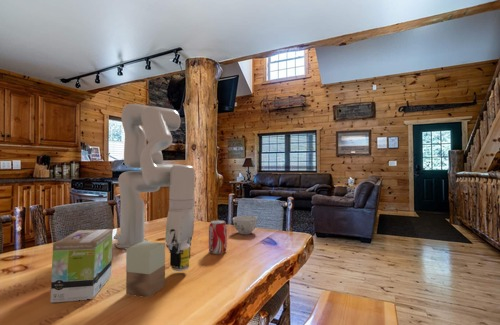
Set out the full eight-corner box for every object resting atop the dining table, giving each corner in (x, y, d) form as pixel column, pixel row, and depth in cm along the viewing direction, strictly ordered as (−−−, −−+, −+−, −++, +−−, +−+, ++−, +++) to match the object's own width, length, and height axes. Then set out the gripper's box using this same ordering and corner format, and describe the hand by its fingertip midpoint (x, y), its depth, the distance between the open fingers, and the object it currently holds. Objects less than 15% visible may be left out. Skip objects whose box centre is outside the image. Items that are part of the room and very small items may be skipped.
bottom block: (126, 294, 70) (126, 271, 70) (143, 283, 76) (143, 262, 76) (149, 298, 68) (149, 274, 68) (164, 286, 75) (165, 264, 75)
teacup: (229, 231, 138) (229, 216, 138) (251, 229, 143) (251, 214, 143) (239, 238, 124) (239, 221, 124) (263, 236, 129) (263, 219, 129)
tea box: (94, 300, 67) (95, 240, 67) (49, 304, 65) (50, 243, 65) (112, 276, 81) (112, 227, 82) (75, 278, 79) (76, 229, 80)
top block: (126, 271, 70) (126, 248, 70) (143, 262, 76) (143, 241, 76) (149, 274, 68) (149, 250, 68) (164, 264, 75) (165, 243, 75)
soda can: (223, 255, 100) (223, 223, 100) (205, 254, 102) (206, 223, 102) (228, 250, 107) (229, 220, 107) (212, 248, 108) (212, 219, 109)
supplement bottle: (173, 272, 80) (174, 240, 80) (169, 266, 85) (170, 235, 85) (191, 269, 82) (191, 238, 82) (186, 263, 87) (187, 233, 87)
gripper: (184, 200, 93) (183, 252, 93) (154, 208, 76) (153, 271, 76) (204, 201, 91) (203, 254, 91) (178, 209, 74) (177, 274, 74)
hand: (180, 261), depth 83 cm, fingers closed on supplement bottle, 5 cm apart
